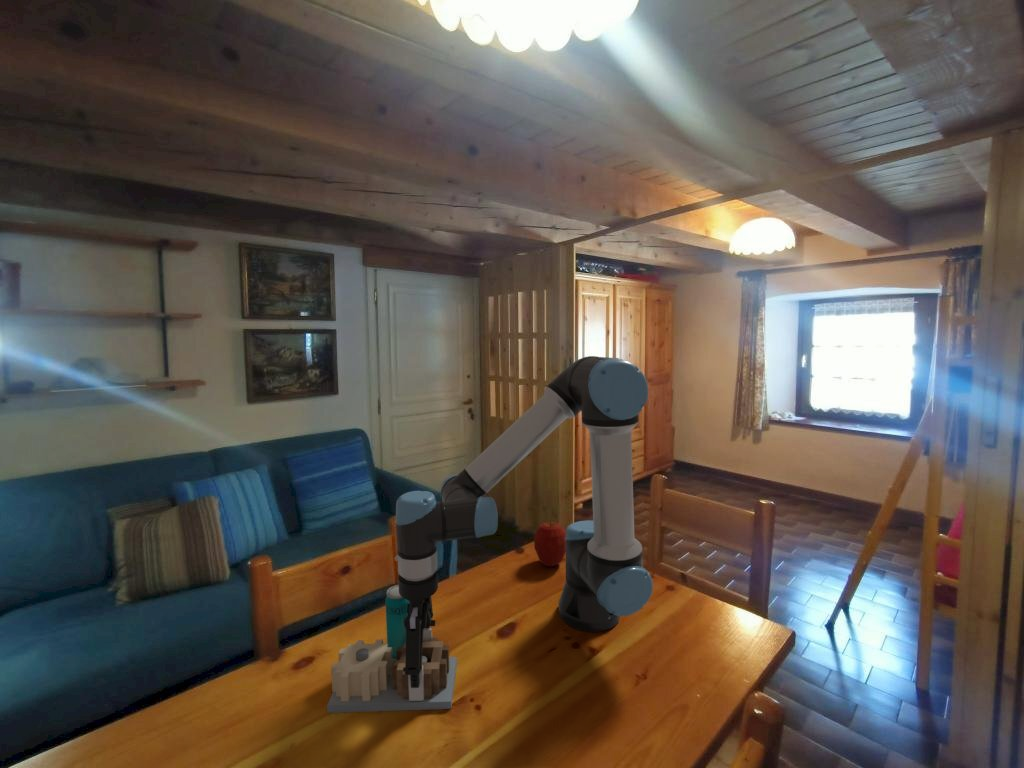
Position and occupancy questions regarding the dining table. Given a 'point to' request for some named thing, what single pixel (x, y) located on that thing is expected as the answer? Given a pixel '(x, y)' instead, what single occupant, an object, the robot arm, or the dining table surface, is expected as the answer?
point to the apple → (550, 543)
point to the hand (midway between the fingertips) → (421, 677)
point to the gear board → (397, 699)
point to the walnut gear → (432, 669)
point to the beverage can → (396, 619)
